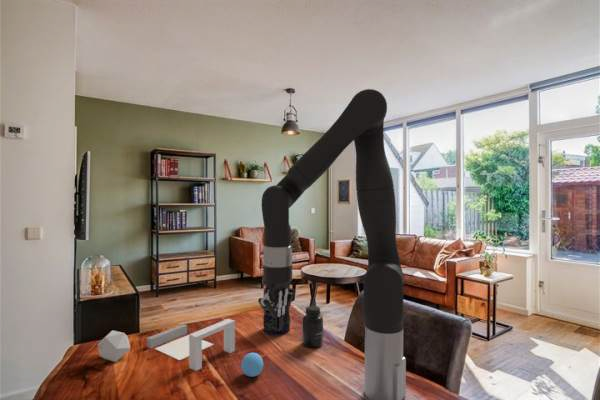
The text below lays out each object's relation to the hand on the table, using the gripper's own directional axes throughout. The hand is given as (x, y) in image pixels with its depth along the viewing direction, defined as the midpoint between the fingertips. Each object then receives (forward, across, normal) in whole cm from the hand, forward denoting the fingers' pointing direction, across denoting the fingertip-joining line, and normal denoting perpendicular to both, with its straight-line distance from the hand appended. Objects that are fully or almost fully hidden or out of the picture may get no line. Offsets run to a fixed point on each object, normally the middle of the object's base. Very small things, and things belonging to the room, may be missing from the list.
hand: (277, 329), depth 88 cm
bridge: (+15, 0, +25) cm, 29 cm away
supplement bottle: (+15, +26, +6) cm, 31 cm away
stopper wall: (+15, 0, +48) cm, 50 cm away
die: (+15, -17, +50) cm, 55 cm away
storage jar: (+15, +28, +23) cm, 39 cm away
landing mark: (+15, 0, +39) cm, 42 cm away
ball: (+12, 0, +9) cm, 15 cm away
